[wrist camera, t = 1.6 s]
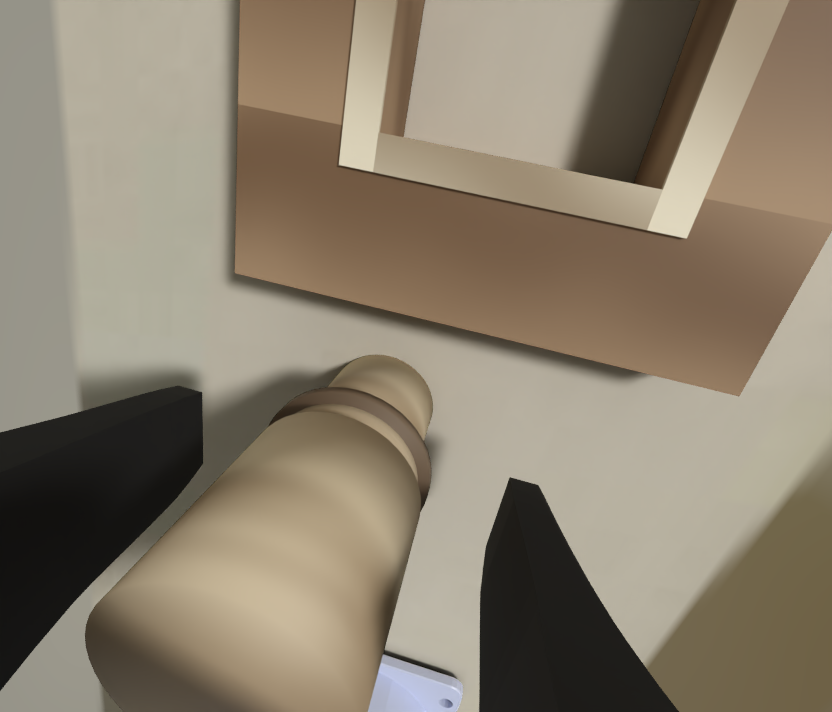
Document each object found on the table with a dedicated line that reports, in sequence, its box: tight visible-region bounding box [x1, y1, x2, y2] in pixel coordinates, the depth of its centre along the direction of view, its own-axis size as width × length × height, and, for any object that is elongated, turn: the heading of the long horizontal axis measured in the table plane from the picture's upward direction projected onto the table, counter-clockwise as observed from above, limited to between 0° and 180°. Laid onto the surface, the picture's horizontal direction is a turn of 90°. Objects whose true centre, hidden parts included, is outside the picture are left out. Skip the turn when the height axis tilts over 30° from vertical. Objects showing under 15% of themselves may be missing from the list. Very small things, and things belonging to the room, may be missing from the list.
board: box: [235, 0, 832, 396], centre depth 8 cm, size 12×11×2 cm
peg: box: [85, 355, 433, 712], centre depth 9 cm, size 4×4×8 cm
